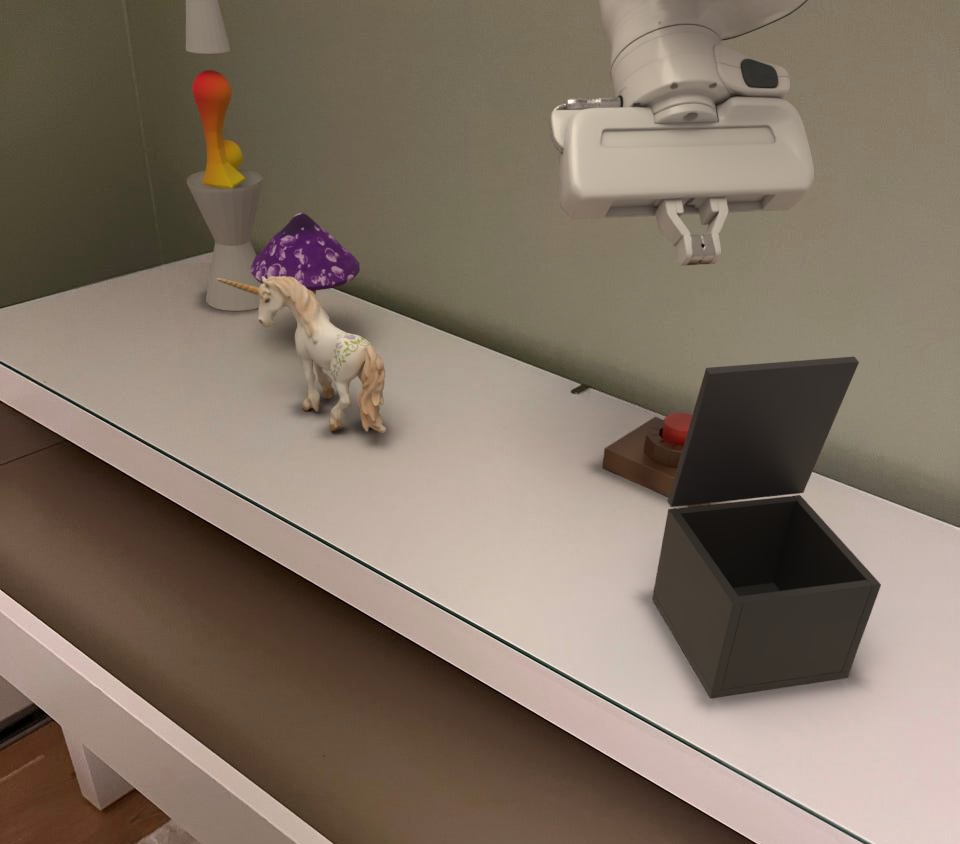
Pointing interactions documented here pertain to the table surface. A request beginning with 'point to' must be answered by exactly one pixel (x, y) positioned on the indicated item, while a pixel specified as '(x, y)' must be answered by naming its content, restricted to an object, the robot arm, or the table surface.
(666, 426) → the button
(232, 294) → the lava lamp
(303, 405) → the unicorn figurine
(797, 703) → the table surface
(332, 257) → the decorative mushroom
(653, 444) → the console
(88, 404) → the table surface
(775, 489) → the lid
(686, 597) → the dark grey cubic box
